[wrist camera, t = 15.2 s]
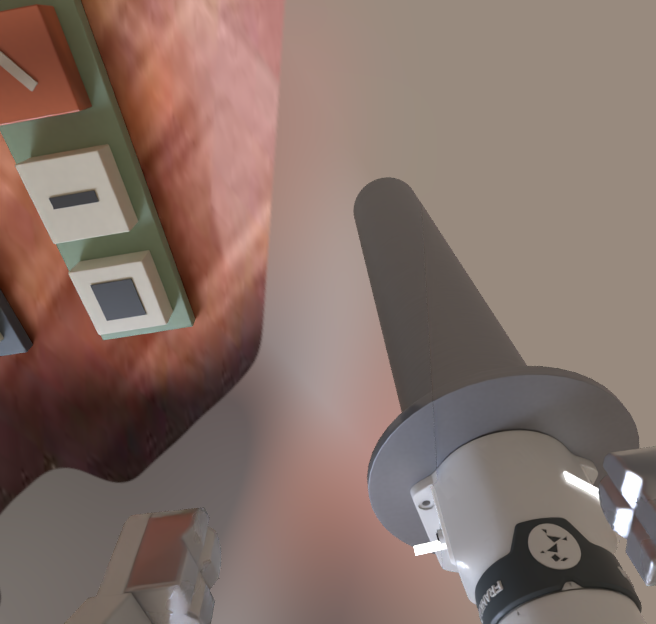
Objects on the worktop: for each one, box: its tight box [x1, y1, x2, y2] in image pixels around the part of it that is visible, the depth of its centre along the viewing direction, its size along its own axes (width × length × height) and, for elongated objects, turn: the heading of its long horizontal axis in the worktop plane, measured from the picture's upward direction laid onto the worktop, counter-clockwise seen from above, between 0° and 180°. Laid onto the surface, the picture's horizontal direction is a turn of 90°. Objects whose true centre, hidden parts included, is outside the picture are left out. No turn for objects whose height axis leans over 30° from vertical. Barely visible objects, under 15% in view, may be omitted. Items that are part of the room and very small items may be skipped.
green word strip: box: [0, 0, 195, 340], centre depth 29 cm, size 22×7×3 cm, turn 9°
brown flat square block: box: [0, 4, 92, 126], centre depth 25 cm, size 5×5×2 cm
